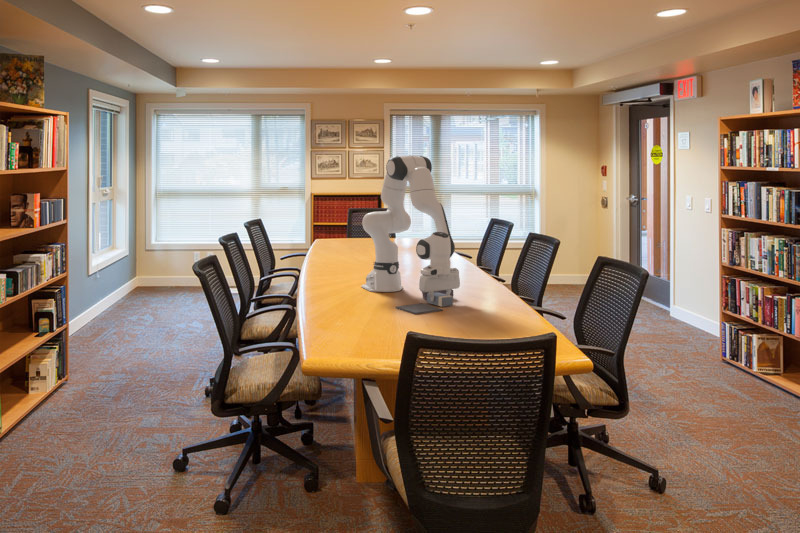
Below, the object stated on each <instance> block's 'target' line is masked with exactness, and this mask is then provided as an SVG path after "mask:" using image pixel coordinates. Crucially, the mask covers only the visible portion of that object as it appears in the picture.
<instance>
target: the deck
mask: <svg viewBox="0 0 800 533" xmlns="http://www.w3.org/2000/svg"><path fill="white" fill-rule="evenodd" d="M433 296H434V297H436V299H435V301H431V297H430V295H429V293H428V294H427V300H426V303H427V304H431V305H434V306H439V307H440V308H442V307H443V308H444V307H450V306H453V305H454V295H453V296H450V295H446V294H442V293H439V292H436V293H434V294H433Z"/></svg>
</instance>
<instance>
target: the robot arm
mask: <svg viewBox="0 0 800 533" xmlns="http://www.w3.org/2000/svg"><path fill="white" fill-rule="evenodd" d="M385 166H386V167H385V168H386V172H385V177H384V181H383V184H382V189H381V192H380V199H381V202H382V203H383V204H384V205H385V206H387V209H386V210H383V211H382V210H381V211H371V212H368V213H366V214H365V215H364V216H363V218H362V222H361V223H362V225H361V226H362V229H363V230H364V231H365V233H367V234H368V235H369V236H370V237H371V239H372V241H373V244H374V250H375V253H374V254H375V261H373V262H372V263H373V264H372V265H373V269H372V270H370V272H369V273H368V274H367V275H366V278H365V283H364V284H362V285H361V286H360V287H361V288H363V289H365V290H366V291H368V292H380V293H381V292H383V293H392V292H398V291H401V290H402V289H403V288H404V285H402V276H401V272H400V270H399V269H400V263H399V246H398V245H397V244H396V243H395V242H394V241H392V240H391V239H390V235H389V234H400V233H403V232H406V231H408V230H409V229H410V227H411V224H412V221H411V219H412V218H411V216H410V214H409V213H408V212H407V211H406V209H405V205H404V200H405V195H406V189H407V185H408V184H409V192H410V193H409V194H410V202H411V204H412V206H413V207H414V209H416V210H417V211H418V212H422V213H424V214H426V215H428V216H430V217H431V218H432V220H433V221H434V224H435V229H436V231H434V232H432V233H431V235H429V236H427V237H425V238H420V239H419V240H418V242H417V244H416V247H415V249H416V251H415V252H416V255H417V257H418V258H420V259H421V260H425V261H427V260H428V261H430V264H429V265H427V266H425V267H423V268H421V269H420V274H421V275H420V276H419V283H418V290H420V292H421V293H422V292H428V293H429V295H430V297H431V301H435V299H436V297H434V296H433V294H434V291H441V290H446V291H447V292H446V295H450V293H451V289H452V290H456V289H459V288H460V286H461V282H460V279H461V278H460V270H459V269H458V268H456V267H451V259H450V258H451V257H452V256H453V255H454V253H455V249H456V248H455V247H456V246H455V243H454V240H453V238H452V236H451V235H452V234H451V231H450V227H449V223H448V220H447V216H446V212H445V209H444V206H443V205H442V203H441V202H440V201H439V200H438V198H437V195H436V192H435V184H434V180H433V175H432V169H433V164H432V162H431V160H430V159H429V158H428V157H427V156H423V155H421V156H419V155H401V156H400V155H399V156H398V155H396V156H395V155H394V156H392V157H389V159H388V160H387V162H386V165H385Z"/></svg>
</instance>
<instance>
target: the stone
mask: <svg viewBox="0 0 800 533" xmlns="http://www.w3.org/2000/svg"><path fill="white" fill-rule="evenodd" d="M436 292H439V293H442V294H446V292H447V291H446V290H441V291H434V293H436ZM421 294H422V298H423V299H424V300H426V301H427V294H428V292H421ZM450 296H453V297H454V289H451V293H450Z"/></svg>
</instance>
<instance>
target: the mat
mask: <svg viewBox="0 0 800 533" xmlns="http://www.w3.org/2000/svg"><path fill="white" fill-rule="evenodd" d="M395 309H396V310H399V309H400V311H402V310H403V312H406V313H409V314H412V315H422V314H430V313H436V312H443V308H442V307H436V306H435V305H434V306H433V305H429V304H428V303H427V304H426V303H423V302H419V303H413V304H406V305H405V304H404V305H397V306H395Z"/></svg>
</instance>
